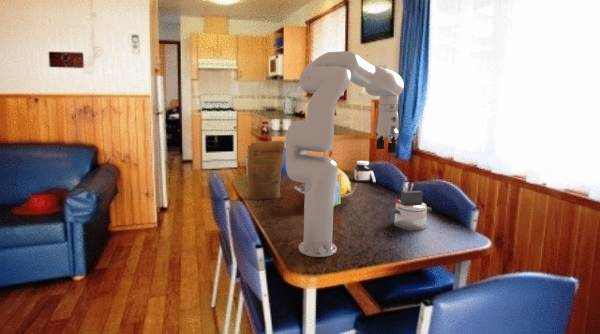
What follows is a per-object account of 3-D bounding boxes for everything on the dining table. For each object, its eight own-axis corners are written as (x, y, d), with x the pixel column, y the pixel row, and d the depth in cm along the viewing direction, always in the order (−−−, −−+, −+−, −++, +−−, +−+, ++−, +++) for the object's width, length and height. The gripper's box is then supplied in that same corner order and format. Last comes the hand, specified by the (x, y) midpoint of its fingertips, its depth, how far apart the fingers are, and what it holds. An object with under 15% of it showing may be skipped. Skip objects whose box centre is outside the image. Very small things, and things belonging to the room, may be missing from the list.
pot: (437, 228, 159) (439, 210, 158) (398, 232, 154) (399, 212, 153) (420, 219, 170) (421, 201, 169) (383, 222, 166) (384, 204, 164)
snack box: (331, 202, 194) (332, 171, 191) (341, 204, 190) (342, 172, 187) (303, 211, 178) (304, 178, 175) (313, 214, 174) (314, 180, 171)
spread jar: (352, 179, 242) (353, 160, 240) (369, 178, 245) (370, 159, 243) (361, 184, 231) (362, 164, 229) (379, 183, 234) (380, 163, 232)
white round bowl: (432, 210, 157) (433, 194, 156) (405, 212, 154) (406, 196, 152) (415, 202, 168) (417, 187, 167) (390, 203, 165) (391, 189, 163)
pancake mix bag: (286, 198, 197) (287, 141, 192) (248, 202, 190) (247, 142, 185) (281, 195, 204) (282, 139, 198) (244, 198, 197) (244, 140, 191)
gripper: (407, 110, 157) (404, 153, 160) (386, 107, 173) (384, 147, 176) (390, 109, 155) (387, 154, 158) (370, 107, 171) (368, 147, 174)
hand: (385, 150), depth 167 cm, fingers open, 9 cm apart
